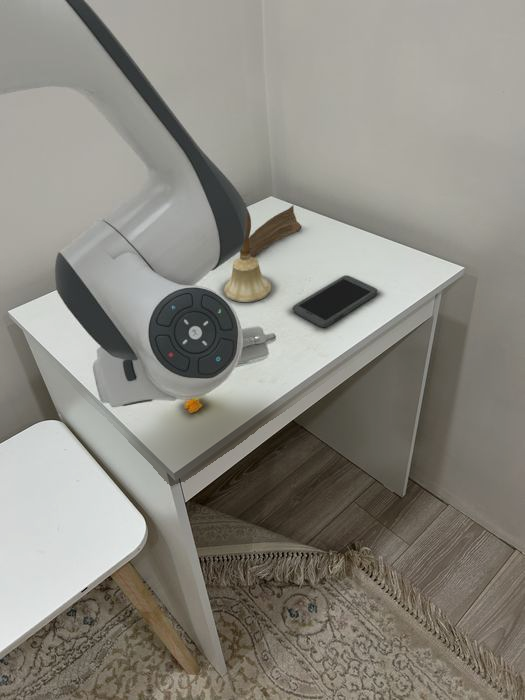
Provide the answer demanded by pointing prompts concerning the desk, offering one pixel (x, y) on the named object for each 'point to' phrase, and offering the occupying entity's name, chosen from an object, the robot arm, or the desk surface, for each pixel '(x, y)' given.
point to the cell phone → (334, 301)
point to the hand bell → (247, 275)
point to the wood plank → (273, 231)
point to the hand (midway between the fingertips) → (181, 369)
